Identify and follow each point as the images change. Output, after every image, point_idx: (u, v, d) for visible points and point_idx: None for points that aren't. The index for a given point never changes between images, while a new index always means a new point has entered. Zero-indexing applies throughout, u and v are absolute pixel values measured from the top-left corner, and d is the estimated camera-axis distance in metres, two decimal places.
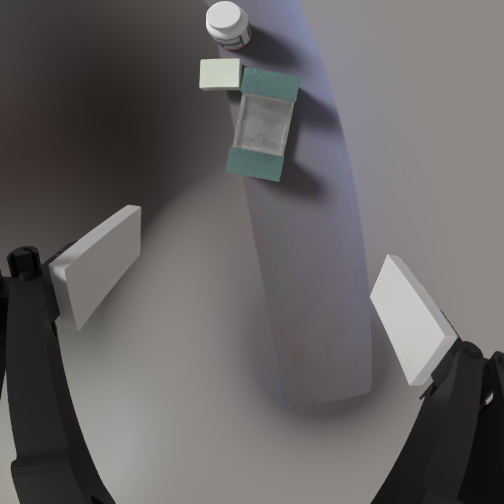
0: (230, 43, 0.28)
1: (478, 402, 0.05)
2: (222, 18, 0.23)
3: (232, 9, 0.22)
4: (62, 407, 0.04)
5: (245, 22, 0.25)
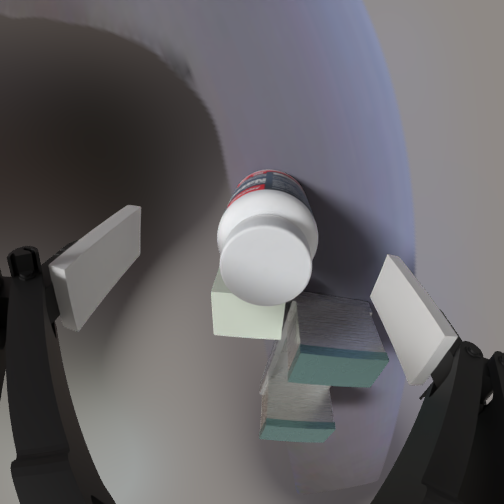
0: None
1: (478, 402, 0.05)
2: (263, 281, 0.12)
3: (291, 256, 0.12)
4: (62, 407, 0.04)
5: (312, 254, 0.14)
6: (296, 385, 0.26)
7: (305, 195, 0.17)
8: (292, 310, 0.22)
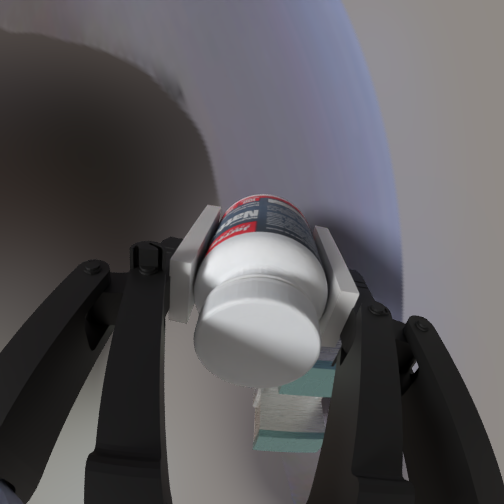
0: None
1: (396, 365, 0.07)
2: (254, 364, 0.09)
3: (293, 336, 0.08)
4: (161, 410, 0.05)
5: (319, 316, 0.10)
6: (288, 397, 0.26)
7: (309, 228, 0.14)
8: None
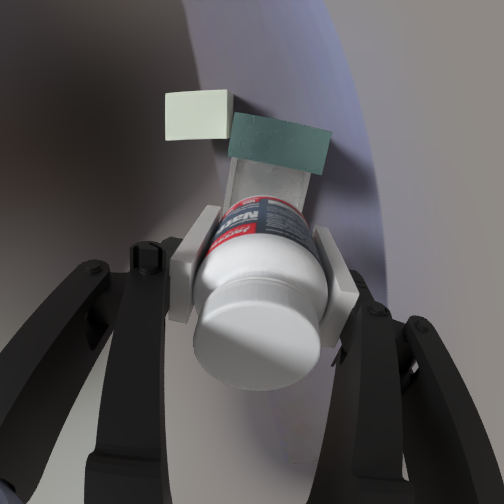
0: None
1: (396, 365, 0.07)
2: (253, 366, 0.08)
3: (293, 339, 0.08)
4: (161, 410, 0.05)
5: (319, 318, 0.10)
6: None
7: (309, 230, 0.14)
8: None
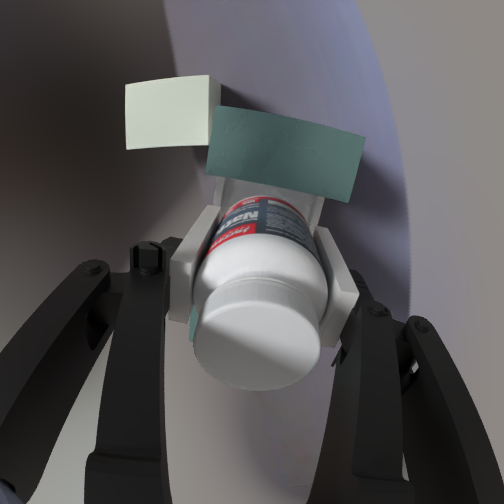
0: None
1: (396, 365, 0.07)
2: (254, 366, 0.08)
3: (293, 339, 0.08)
4: (161, 410, 0.05)
5: (319, 318, 0.10)
6: None
7: (309, 230, 0.14)
8: None
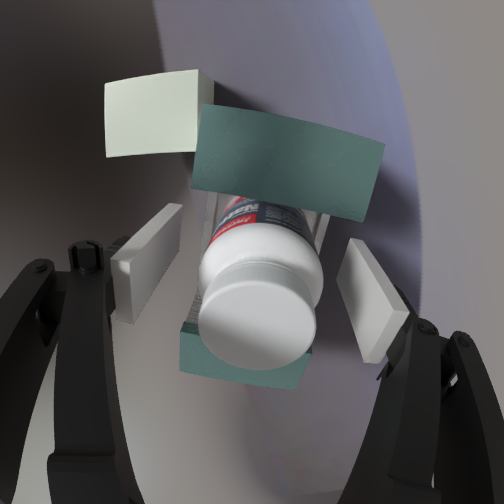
0: None
1: (439, 381, 0.06)
2: (254, 345, 0.09)
3: (289, 318, 0.09)
4: (111, 406, 0.05)
5: (315, 302, 0.11)
6: None
7: (306, 222, 0.14)
8: None
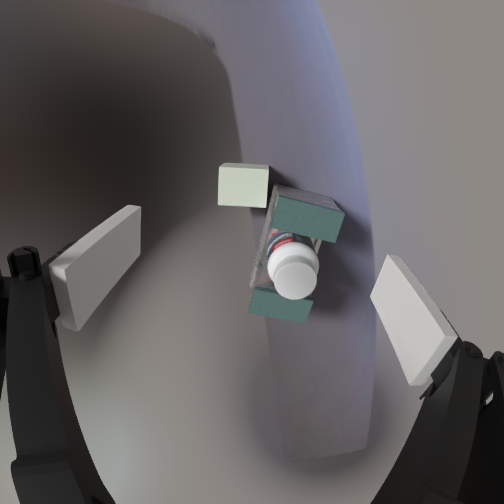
0: None
1: (478, 402, 0.05)
2: (294, 287, 0.26)
3: (307, 276, 0.25)
4: (62, 407, 0.04)
5: (315, 274, 0.28)
6: None
7: (311, 241, 0.31)
8: (274, 193, 0.31)
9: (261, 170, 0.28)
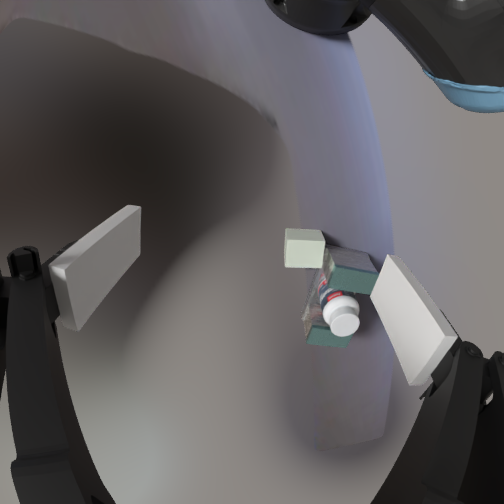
0: None
1: (478, 402, 0.05)
2: (343, 329, 0.35)
3: (353, 321, 0.34)
4: (62, 407, 0.04)
5: None
6: None
7: None
8: (325, 254, 0.39)
9: (319, 241, 0.36)
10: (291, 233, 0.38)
